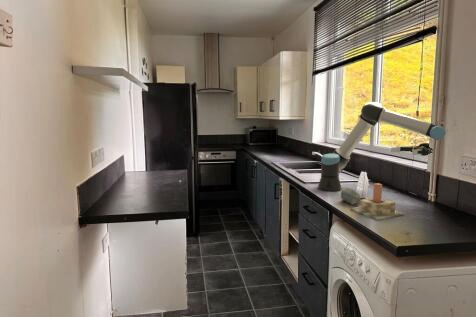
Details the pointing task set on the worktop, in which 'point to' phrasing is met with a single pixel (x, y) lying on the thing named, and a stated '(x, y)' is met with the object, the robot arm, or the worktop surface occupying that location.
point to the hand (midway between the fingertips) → (401, 151)
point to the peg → (377, 193)
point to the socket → (377, 209)
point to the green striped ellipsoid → (350, 196)
